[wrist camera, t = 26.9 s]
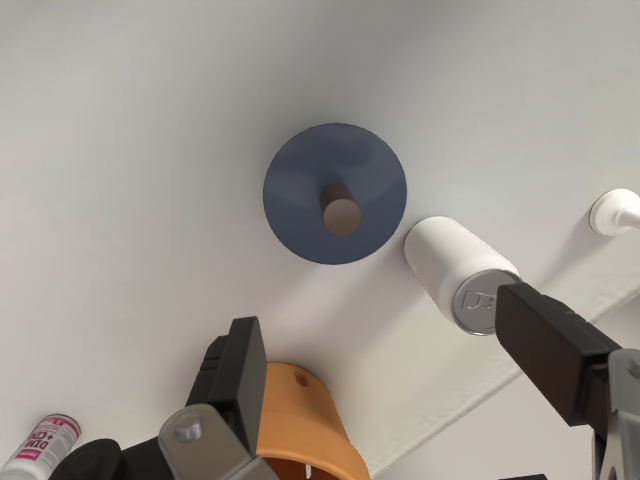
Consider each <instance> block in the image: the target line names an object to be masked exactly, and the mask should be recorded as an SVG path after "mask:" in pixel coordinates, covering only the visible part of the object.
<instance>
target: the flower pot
mask: <svg viewBox="0 0 640 480" xmlns="http://www.w3.org/2000/svg"><path fill="white" fill-rule="evenodd" d="M257 455H259V456H261V457H262V458H263V459H264V460H265V461H266V462H267V464H268V465H269V466H270V467H271V469H272V470H273V471H274V472H275V474H276V475H277V476H278V478H279V479H280V480H370V476H369V473H368V469H367V467H366V464H365V462H364V460H363V459H362V457H361V456H360V454H359V453H358V451H357V450H356V449H355V448H354V447H353V445H352V444H350V442H349V439H348V437H347V434H346V432H345V429H344V427H343V424H342V422H341V419H340V417H339V415H338V412H337V410H336V407H335V405H334V403H333V401H332V398H331V396H330V394H329V392H328V390H327V389H326V387H325V386H324V384H323V383H322V382H321V381H320V380H319V379H318V378H317V377H315V376H314V375H313V374H311V373H310V372H308V371H306V370H304V369H302V368H300V367H297V366H294V365H290V364H285V363H275V362H270V363H267V375H266V383H265V390H264V398H263V405H262V413H261V420H260V428H259V435H258V443H257V450H256V456H257ZM306 464H308V465H311V477H310V478H309V479H307V477H306Z"/></svg>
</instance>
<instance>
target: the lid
mask: <svg viewBox="0 0 640 480" xmlns="http://www.w3.org/2000/svg"><path fill="white" fill-rule="evenodd" d="M406 199H407V187H406V179H405V175H404V171H403V169H402V166H401V164H400V162H399V160H398V158H397V156H396V154H395V153H394V152H393V151H392V149H391V148H390V147H389V146H388V145H387V144H386V143H385V142H384V141H383V140H382V139H380V138H379V137H378V136H376V135H375V134H373V133H371V132H369V131H368V130H365V129H363V128H360V127H357V126H353V125H349V124H340V123H334V124H324V125H319V126H315V127H313V128H310V129H307V130H305V131H303V132H301V133H299V134H298V135H296V136H295V137H293V138H292V139H291V140H289V141H288V142H287V143H286V144H285V145H284V146H283V147H282V148H281V150H280V151H279V152H278V153H277V155H276V156H275V158H274V159H273V161H272V163H271V165H270V167H269V169H268V172H267V175H266V178H265V183H264V189H263V202H264V210H265V213H266V217H267V220H268V222H269V225H270V227H271V229H272V230H273V232H274V234H275V235H276V236H277V238H278V239H279V240H280V241H281V242H282V244H283V245H284V246H285V247H287V248H288V249H289V250H290V251H292V252H293V253H295V254H296V255H298V256H300V257H302V258H304V259H306V260H309V261H312V262H315V263H320V264H329V265H337V264H346V263H351V262H354V261H357V260H360V259H363V258H365V257H367V256H369V255H370V254H372V253H374V252H375V251H377V250H378V249H379V248H380V247H382V246H383V245H384V244H385V243H386V242H387V241H388V240H389V239H390V237H391V236H392V235H393V234H394V232H395V230H396V229H397V227H398V225H399V223H400V221H401V219H402V217H403V213H404V210H405V205H406Z"/></svg>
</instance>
